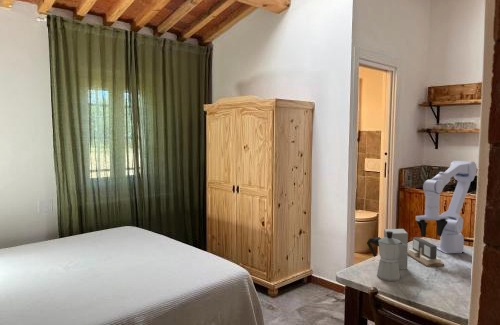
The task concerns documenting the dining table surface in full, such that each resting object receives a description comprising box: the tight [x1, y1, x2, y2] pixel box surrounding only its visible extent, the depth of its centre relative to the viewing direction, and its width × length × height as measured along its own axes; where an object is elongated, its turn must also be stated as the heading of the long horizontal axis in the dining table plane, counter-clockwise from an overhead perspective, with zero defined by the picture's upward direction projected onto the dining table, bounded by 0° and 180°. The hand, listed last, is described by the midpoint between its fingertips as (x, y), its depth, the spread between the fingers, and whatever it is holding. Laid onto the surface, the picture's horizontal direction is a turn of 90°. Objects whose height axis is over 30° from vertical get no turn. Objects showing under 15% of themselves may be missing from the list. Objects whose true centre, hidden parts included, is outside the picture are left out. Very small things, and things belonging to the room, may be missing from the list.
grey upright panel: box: [412, 236, 438, 259], centre depth 165 cm, size 14×3×6 cm, turn 7°
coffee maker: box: [366, 231, 406, 282], centre depth 145 cm, size 15×9×18 cm, turn 57°
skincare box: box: [383, 228, 409, 270], centre depth 155 cm, size 8×7×16 cm
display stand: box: [408, 248, 445, 268], centre depth 165 cm, size 8×17×5 cm, turn 7°
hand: (431, 236), depth 169 cm, fingers open, 7 cm apart
